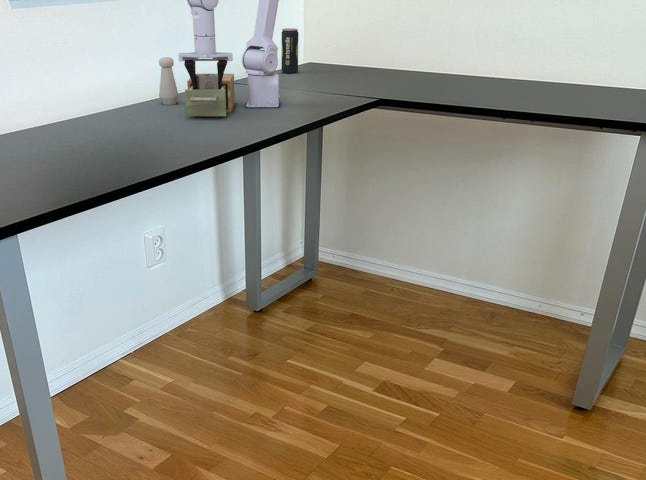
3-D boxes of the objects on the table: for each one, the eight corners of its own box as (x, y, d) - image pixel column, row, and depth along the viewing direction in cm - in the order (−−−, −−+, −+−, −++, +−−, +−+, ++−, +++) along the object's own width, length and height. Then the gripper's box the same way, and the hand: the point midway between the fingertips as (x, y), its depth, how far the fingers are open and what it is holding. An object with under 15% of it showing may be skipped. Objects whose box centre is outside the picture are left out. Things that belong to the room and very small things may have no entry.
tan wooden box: (231, 112, 202) (229, 81, 198) (189, 112, 202) (187, 81, 198) (234, 103, 214) (233, 73, 209) (195, 103, 214) (193, 73, 210)
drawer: (224, 120, 189) (223, 93, 186) (184, 120, 189) (182, 93, 186) (229, 107, 204) (228, 82, 201) (192, 107, 205) (191, 82, 201)
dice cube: (214, 92, 198) (213, 73, 196) (218, 95, 194) (217, 76, 192) (196, 93, 197) (195, 74, 195) (201, 96, 193) (199, 77, 190)
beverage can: (280, 73, 264) (280, 29, 256) (282, 71, 269) (282, 28, 261) (296, 74, 263) (297, 30, 255) (299, 71, 268) (299, 28, 260)
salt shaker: (175, 105, 211) (171, 59, 205) (157, 105, 212) (153, 58, 206) (181, 102, 216) (178, 56, 210) (163, 101, 217) (160, 56, 211)
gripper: (175, 37, 185) (179, 91, 192) (230, 37, 184) (232, 91, 191) (179, 34, 191) (182, 87, 198) (232, 34, 191) (234, 87, 197)
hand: (207, 89), depth 195 cm, fingers closed on dice cube, 6 cm apart
